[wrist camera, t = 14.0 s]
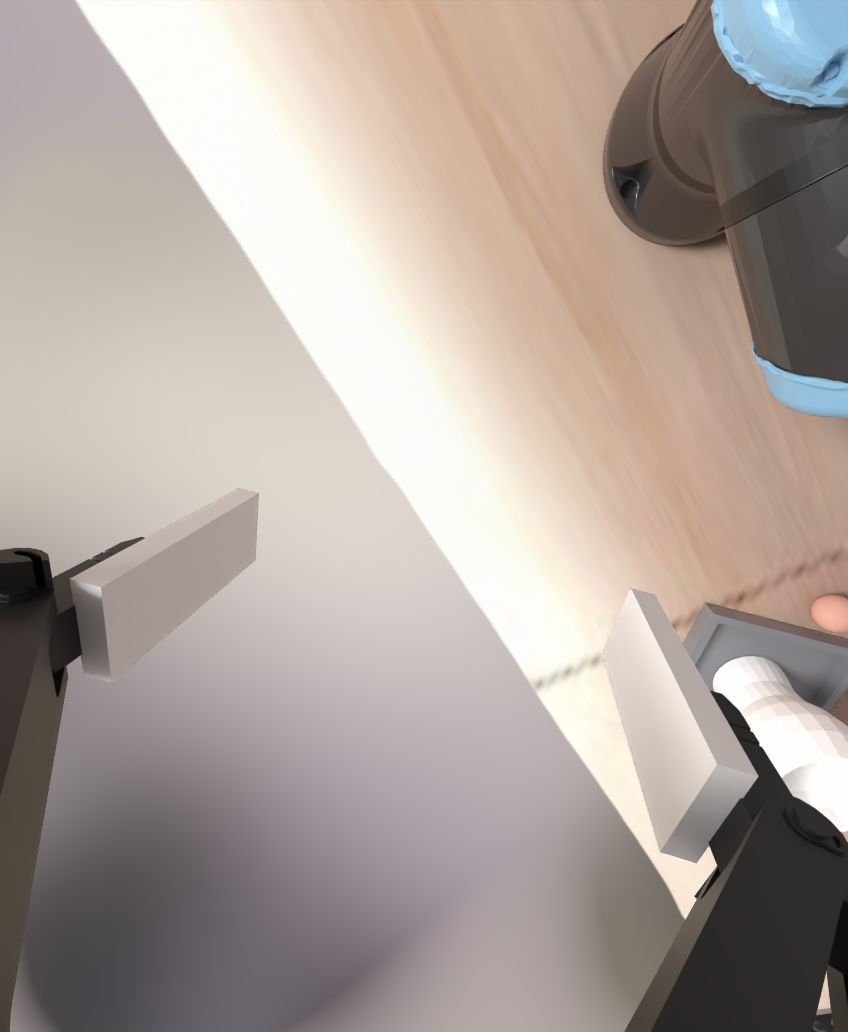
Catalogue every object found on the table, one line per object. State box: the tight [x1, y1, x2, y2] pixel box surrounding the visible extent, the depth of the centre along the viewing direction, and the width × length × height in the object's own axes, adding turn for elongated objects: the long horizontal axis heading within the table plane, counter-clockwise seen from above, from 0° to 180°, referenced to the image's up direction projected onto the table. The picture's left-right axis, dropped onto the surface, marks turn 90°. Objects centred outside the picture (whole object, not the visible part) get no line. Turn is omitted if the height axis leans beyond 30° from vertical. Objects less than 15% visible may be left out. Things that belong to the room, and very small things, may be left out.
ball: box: [811, 595, 848, 633], centre depth 48 cm, size 4×4×4 cm
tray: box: [683, 603, 848, 713], centre depth 54 cm, size 17×17×2 cm
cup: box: [713, 656, 848, 832], centre depth 47 cm, size 11×11×15 cm
